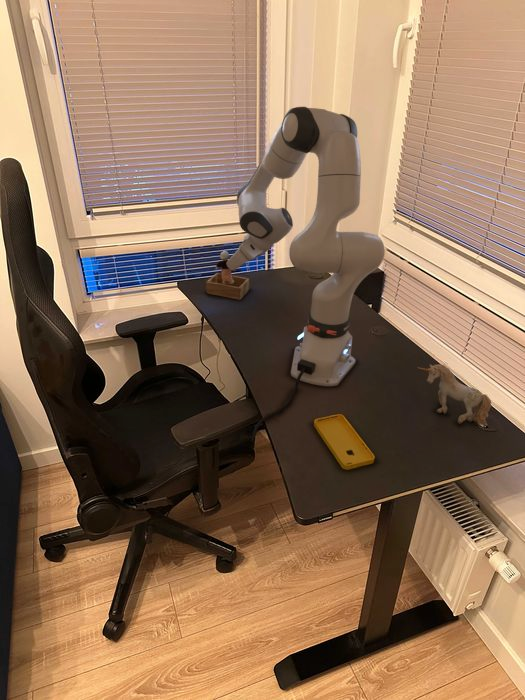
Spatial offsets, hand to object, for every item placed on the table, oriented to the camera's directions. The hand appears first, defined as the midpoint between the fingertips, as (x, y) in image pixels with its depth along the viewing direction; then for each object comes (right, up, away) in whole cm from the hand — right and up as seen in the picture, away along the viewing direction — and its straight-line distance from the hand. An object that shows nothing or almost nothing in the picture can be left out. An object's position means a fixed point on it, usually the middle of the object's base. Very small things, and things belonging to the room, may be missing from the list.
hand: (230, 265), depth 184 cm
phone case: (+31, -54, -63) cm, 89 cm away
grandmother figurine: (-2, -6, +5) cm, 8 cm away
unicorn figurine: (+59, -49, -54) cm, 94 cm away
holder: (-1, -9, +6) cm, 11 cm away
